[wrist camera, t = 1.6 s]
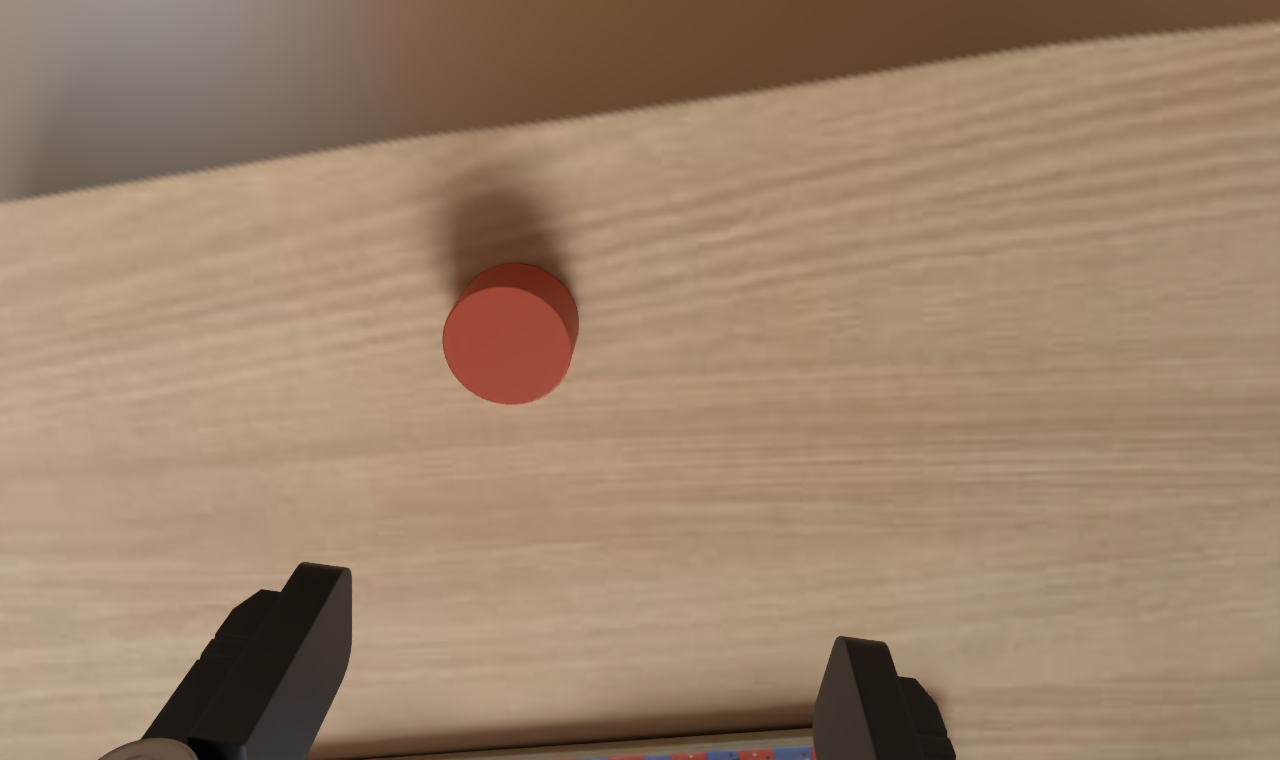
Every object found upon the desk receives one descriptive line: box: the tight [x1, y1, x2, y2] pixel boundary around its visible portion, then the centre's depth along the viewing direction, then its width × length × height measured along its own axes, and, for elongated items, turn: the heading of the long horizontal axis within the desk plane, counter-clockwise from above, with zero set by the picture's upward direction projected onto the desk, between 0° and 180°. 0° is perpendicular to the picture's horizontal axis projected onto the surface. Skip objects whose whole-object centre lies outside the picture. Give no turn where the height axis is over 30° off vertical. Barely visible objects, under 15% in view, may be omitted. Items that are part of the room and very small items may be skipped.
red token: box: [443, 264, 579, 405], centre depth 28 cm, size 4×4×2 cm
